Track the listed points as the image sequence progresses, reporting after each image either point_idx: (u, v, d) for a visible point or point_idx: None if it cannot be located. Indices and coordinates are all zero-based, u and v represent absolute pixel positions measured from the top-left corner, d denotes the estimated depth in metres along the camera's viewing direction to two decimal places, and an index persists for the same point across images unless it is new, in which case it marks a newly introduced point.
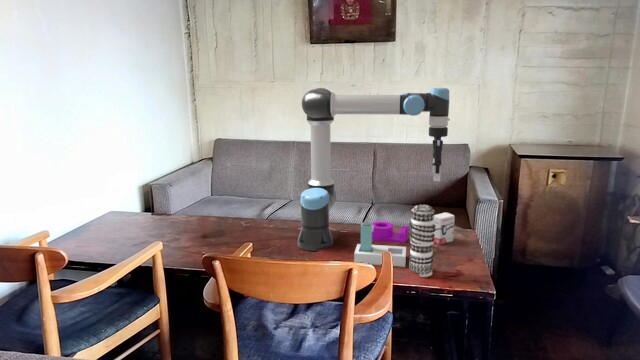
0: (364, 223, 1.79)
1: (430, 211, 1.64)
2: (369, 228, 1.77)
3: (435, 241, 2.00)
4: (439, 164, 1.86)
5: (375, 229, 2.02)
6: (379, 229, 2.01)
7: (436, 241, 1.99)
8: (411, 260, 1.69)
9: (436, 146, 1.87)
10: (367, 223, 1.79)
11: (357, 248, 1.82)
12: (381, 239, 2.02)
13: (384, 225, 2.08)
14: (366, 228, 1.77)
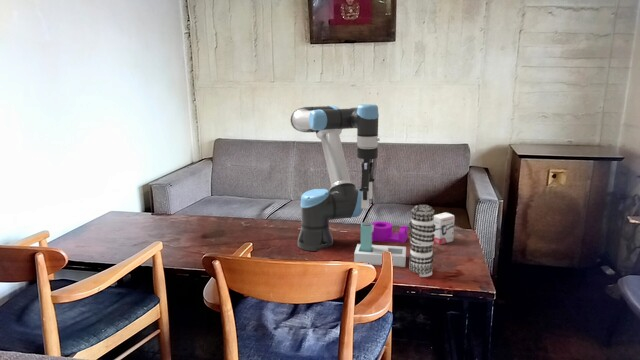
0: (364, 223, 1.79)
1: (430, 211, 1.64)
2: (369, 228, 1.77)
3: (435, 241, 2.00)
4: (366, 190, 1.66)
5: (374, 229, 2.02)
6: (378, 229, 2.01)
7: (436, 241, 1.99)
8: (411, 260, 1.69)
9: (363, 170, 1.67)
10: (367, 223, 1.79)
11: (357, 248, 1.82)
12: (380, 239, 2.02)
13: (383, 225, 2.08)
14: (366, 228, 1.77)
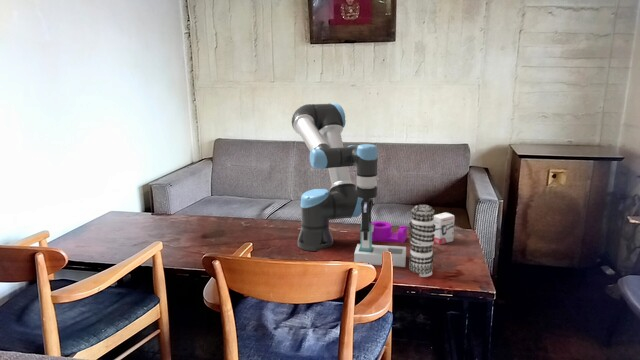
0: None
1: (430, 211, 1.64)
2: (369, 228, 1.77)
3: (435, 241, 2.00)
4: (366, 231, 1.74)
5: None
6: (377, 229, 2.02)
7: (436, 241, 1.99)
8: (411, 260, 1.69)
9: (363, 213, 1.72)
10: None
11: (357, 248, 1.82)
12: (379, 239, 2.02)
13: (382, 225, 2.08)
14: None
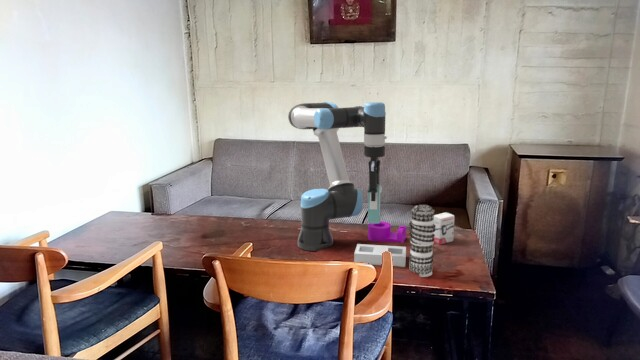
0: None
1: (430, 211, 1.64)
2: (377, 189, 1.72)
3: (435, 241, 2.00)
4: (374, 191, 1.69)
5: (373, 229, 2.03)
6: (377, 229, 2.02)
7: (436, 241, 1.99)
8: (411, 260, 1.69)
9: (370, 172, 1.68)
10: None
11: (357, 248, 1.82)
12: (379, 239, 2.02)
13: (382, 225, 2.08)
14: None
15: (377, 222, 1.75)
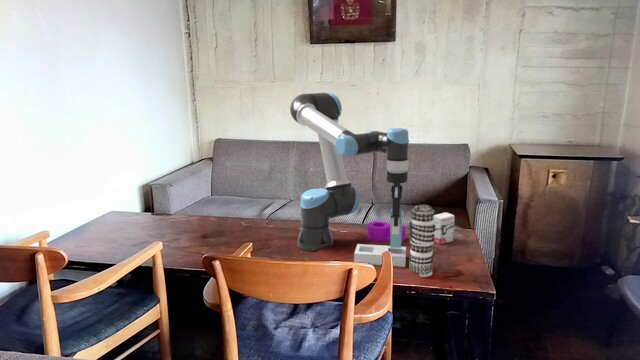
0: None
1: (430, 211, 1.64)
2: (399, 214, 1.73)
3: (435, 241, 2.00)
4: (397, 217, 1.70)
5: (372, 229, 2.03)
6: (376, 229, 2.02)
7: (436, 241, 1.99)
8: (411, 260, 1.69)
9: (394, 198, 1.68)
10: None
11: (357, 248, 1.82)
12: (378, 239, 2.02)
13: (381, 225, 2.08)
14: None
15: (399, 246, 1.76)
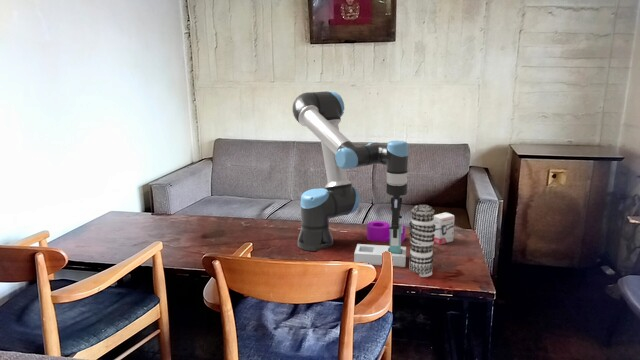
0: None
1: (430, 211, 1.64)
2: (399, 229, 1.75)
3: (435, 241, 2.00)
4: (396, 229, 1.68)
5: (372, 229, 2.03)
6: (376, 229, 2.02)
7: (436, 241, 1.99)
8: (411, 260, 1.69)
9: (393, 208, 1.68)
10: None
11: (357, 248, 1.82)
12: (378, 239, 2.03)
13: (381, 225, 2.08)
14: None
15: None
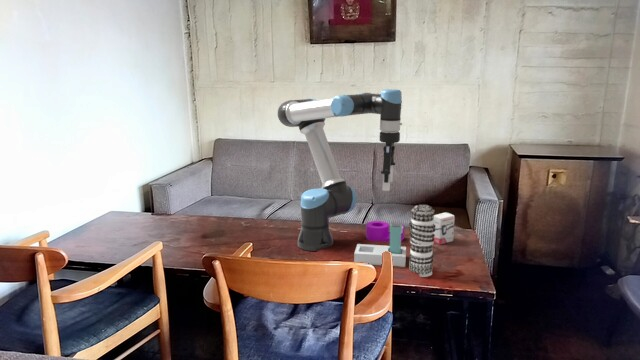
0: (393, 224, 1.77)
1: (430, 211, 1.64)
2: (399, 229, 1.75)
3: (435, 241, 2.00)
4: (387, 173, 1.71)
5: (371, 229, 2.03)
6: (375, 229, 2.02)
7: (436, 241, 1.99)
8: (411, 260, 1.69)
9: (385, 153, 1.72)
10: (396, 224, 1.77)
11: (357, 248, 1.82)
12: (377, 238, 2.03)
13: (380, 224, 2.09)
14: (396, 229, 1.75)
15: None
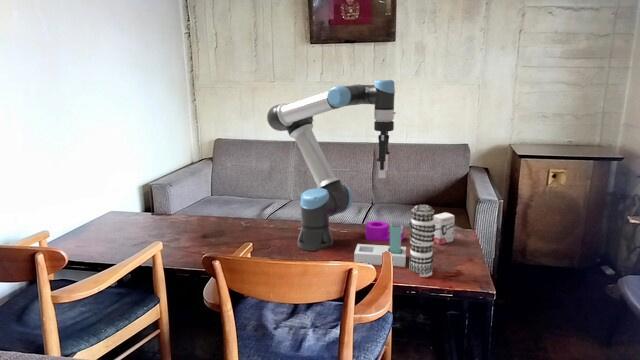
0: (393, 224, 1.77)
1: (430, 211, 1.64)
2: (399, 229, 1.75)
3: (435, 241, 2.00)
4: (383, 160, 1.76)
5: (370, 228, 2.03)
6: (374, 228, 2.02)
7: (436, 241, 1.99)
8: (411, 260, 1.69)
9: (380, 141, 1.78)
10: (396, 224, 1.77)
11: (357, 248, 1.82)
12: (376, 238, 2.03)
13: (379, 224, 2.09)
14: (396, 229, 1.75)
15: None
